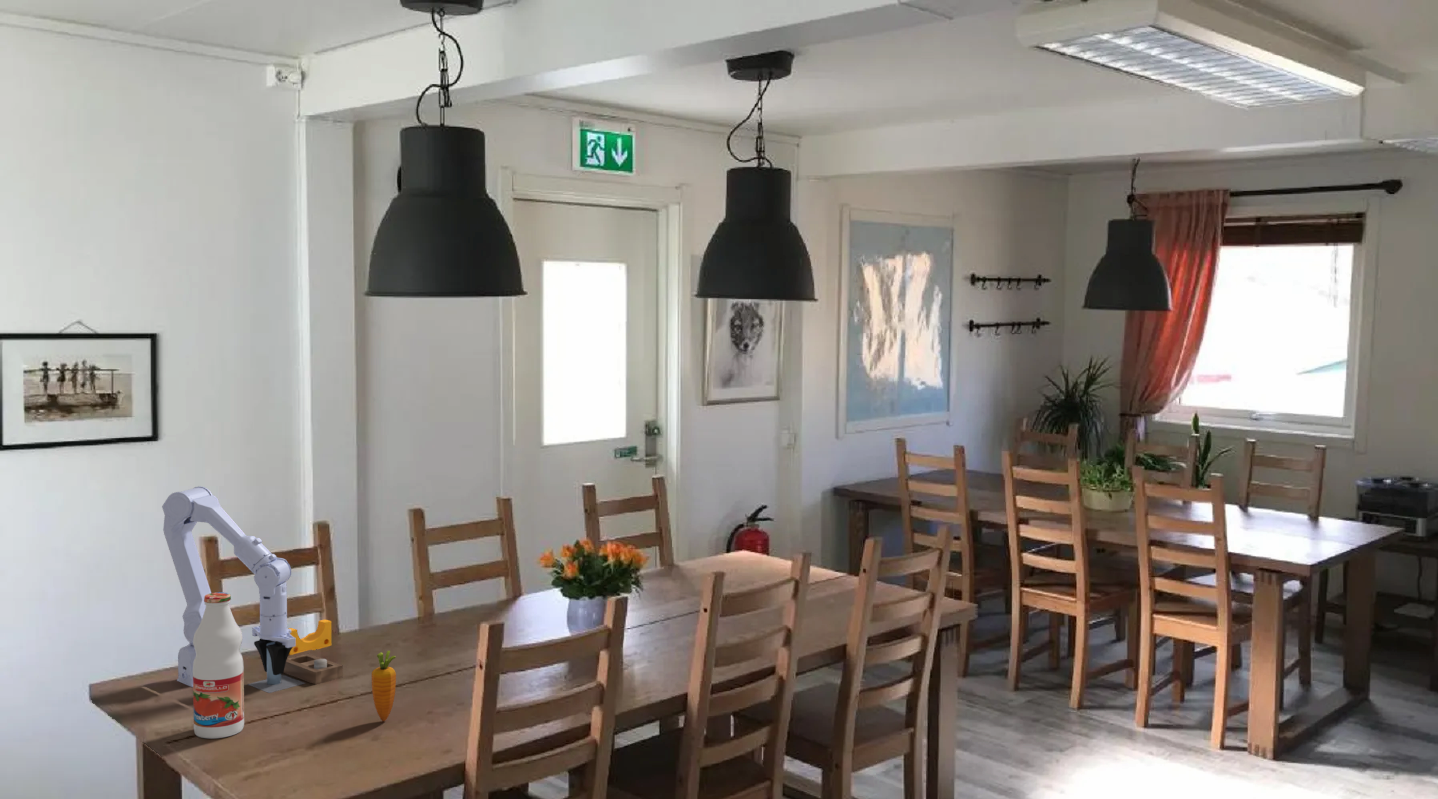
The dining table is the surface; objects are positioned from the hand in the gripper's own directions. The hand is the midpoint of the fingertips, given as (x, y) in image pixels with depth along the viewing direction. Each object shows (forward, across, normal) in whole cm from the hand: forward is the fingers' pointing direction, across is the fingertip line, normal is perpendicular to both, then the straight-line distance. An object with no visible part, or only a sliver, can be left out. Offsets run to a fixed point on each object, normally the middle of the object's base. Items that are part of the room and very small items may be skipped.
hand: (274, 672), depth 266 cm
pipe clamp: (+3, +19, -20) cm, 28 cm away
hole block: (+3, -1, -9) cm, 9 cm away
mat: (+3, -1, 0) cm, 3 cm away
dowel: (+2, 0, 0) cm, 2 cm away
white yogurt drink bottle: (+3, -18, +23) cm, 29 cm away
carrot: (+3, -38, -2) cm, 38 cm away
